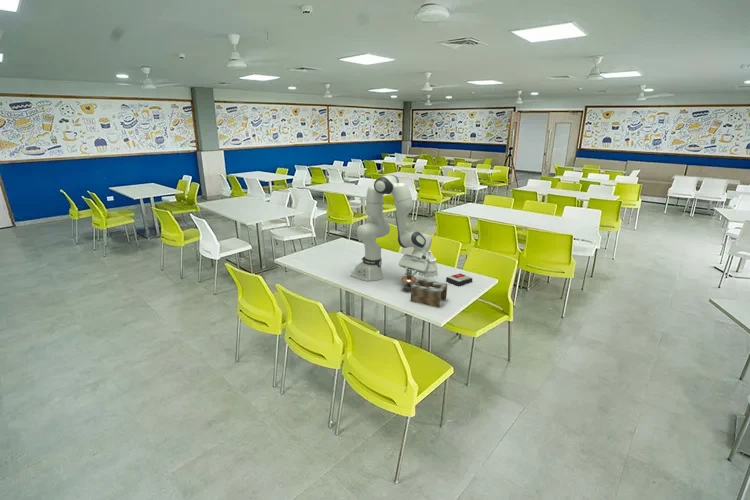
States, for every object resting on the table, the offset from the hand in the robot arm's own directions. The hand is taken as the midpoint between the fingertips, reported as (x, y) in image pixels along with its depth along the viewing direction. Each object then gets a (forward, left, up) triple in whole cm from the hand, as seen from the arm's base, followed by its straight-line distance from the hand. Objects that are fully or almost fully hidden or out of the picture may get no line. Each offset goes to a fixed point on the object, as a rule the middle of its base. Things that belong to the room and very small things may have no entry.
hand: (408, 275), depth 243 cm
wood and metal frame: (+17, -7, -10) cm, 21 cm away
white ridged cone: (+2, +35, -11) cm, 36 cm away
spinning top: (0, +1, -8) cm, 8 cm away
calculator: (+25, +32, -11) cm, 42 cm away
